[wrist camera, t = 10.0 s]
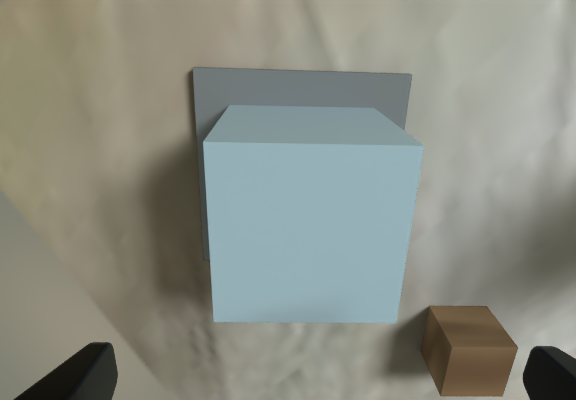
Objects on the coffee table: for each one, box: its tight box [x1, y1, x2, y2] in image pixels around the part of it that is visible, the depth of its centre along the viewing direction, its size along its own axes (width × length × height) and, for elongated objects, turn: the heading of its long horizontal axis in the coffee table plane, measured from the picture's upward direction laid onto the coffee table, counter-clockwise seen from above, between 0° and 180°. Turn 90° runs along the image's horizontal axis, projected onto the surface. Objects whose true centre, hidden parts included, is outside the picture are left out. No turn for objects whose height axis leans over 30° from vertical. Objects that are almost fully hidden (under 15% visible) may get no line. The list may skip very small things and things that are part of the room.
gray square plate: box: [193, 67, 412, 260], centre depth 20 cm, size 10×10×1 cm
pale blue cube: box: [203, 105, 424, 323], centre depth 17 cm, size 7×7×7 cm
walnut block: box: [421, 306, 518, 396], centre depth 23 cm, size 4×4×4 cm
